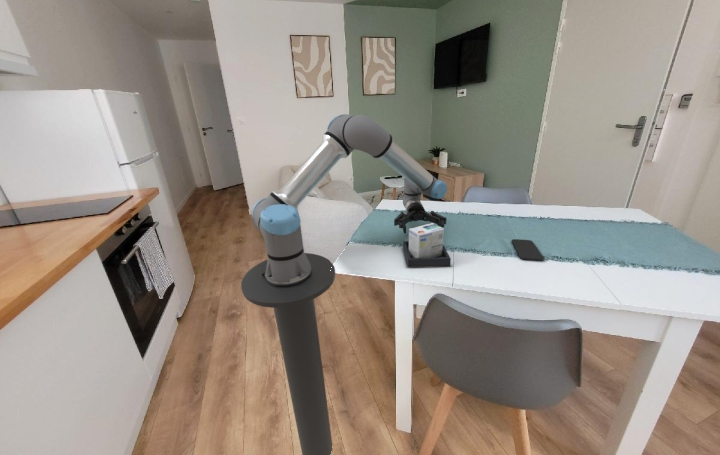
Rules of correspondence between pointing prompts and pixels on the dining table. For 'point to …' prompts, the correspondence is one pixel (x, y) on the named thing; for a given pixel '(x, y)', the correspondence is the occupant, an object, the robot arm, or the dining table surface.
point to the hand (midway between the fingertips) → (423, 229)
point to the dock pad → (426, 259)
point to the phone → (527, 250)
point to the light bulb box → (426, 241)
